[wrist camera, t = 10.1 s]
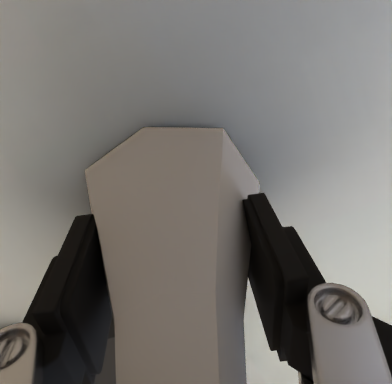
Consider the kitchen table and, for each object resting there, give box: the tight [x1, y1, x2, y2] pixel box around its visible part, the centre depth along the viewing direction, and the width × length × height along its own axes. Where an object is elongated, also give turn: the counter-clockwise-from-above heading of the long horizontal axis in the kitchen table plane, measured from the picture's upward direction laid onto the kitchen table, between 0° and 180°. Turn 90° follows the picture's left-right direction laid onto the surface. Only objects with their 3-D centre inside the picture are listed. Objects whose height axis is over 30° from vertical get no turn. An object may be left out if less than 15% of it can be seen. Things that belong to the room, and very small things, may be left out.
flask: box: [85, 127, 260, 384], centre depth 9 cm, size 7×7×10 cm
